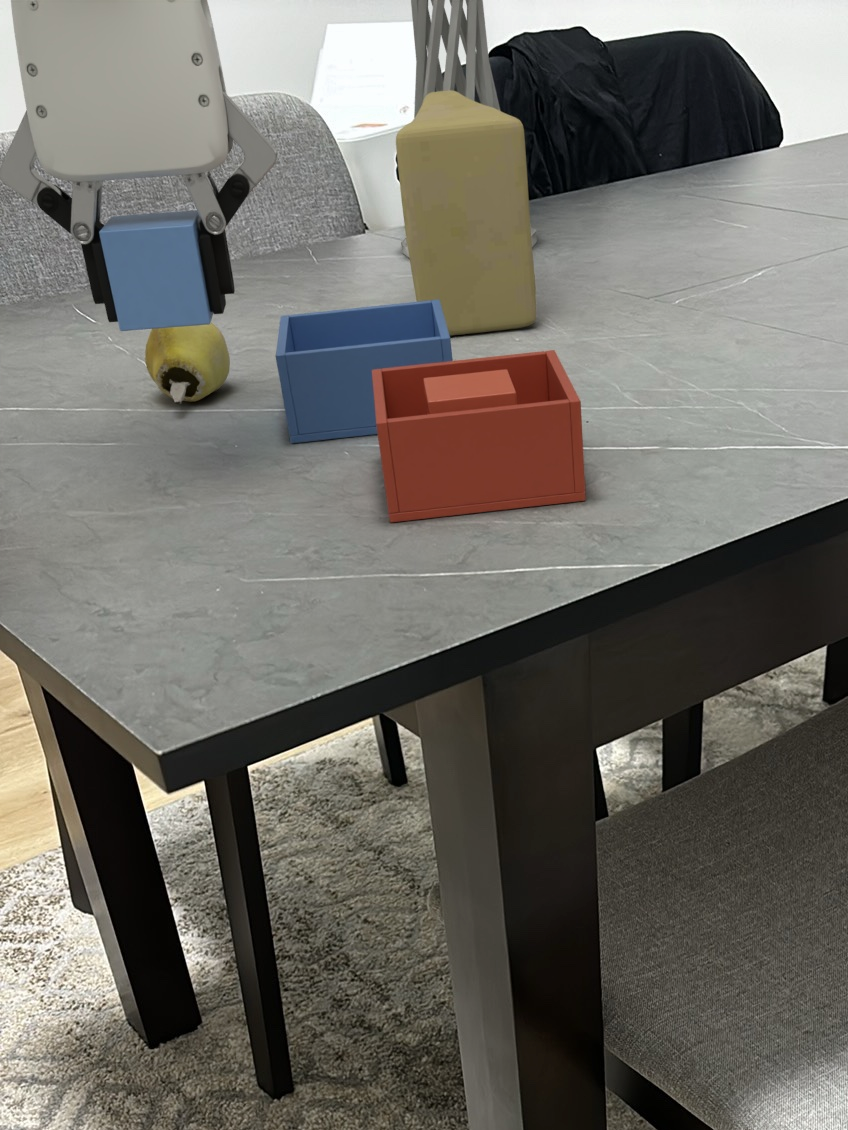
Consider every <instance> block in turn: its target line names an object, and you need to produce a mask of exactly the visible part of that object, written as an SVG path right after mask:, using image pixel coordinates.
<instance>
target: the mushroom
mask: <svg viewBox="0 0 848 1130" xmlns="http://www.w3.org/2000/svg"><path fill="white" fill-rule="evenodd" d="M230 357H231V356H230V353H229V350H228V345H227V341H226V339H225V337H224V335H223V333H222V331H221V329H220V328H219V327H218V326H217V325H216V324H215V323H213V322H211V323H210V324H208V325H195V326H182V327H169V328H156V329H150V333H149V335H148V338H147V341H146V344H145V351H144V361H145V366H146V369H147V373H148V374H149V376H150V378H151V380H152V381H153V382H154V383H155V384H156V386H157V387H158V389H159V390H160V391H161V392H162V393H163V394H164V395H166V396H167V397H169V398H171V399H172V400H173V401H174V403H175V405H181V404H182V402H183V401H185V402H190V403H192V402H197V401H200V400H202V399H204V398H205V397H207V396H209V395H210V394H211V393H214V392H216V391H218V390H219V389H220V388H221V387H222V386H223V384H224V383H225V381H226V380H227V378H228V377H229V373H230V367H231V358H230Z"/></svg>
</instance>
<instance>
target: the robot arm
mask: <svg viewBox="0 0 848 1130" xmlns="http://www.w3.org/2000/svg"><path fill="white" fill-rule="evenodd" d="M10 6H11V7H10V8H11V16H12V23H13V33H14V39H15V46H16V53H17V59H18V66H19V72H20V78H21V84H22V91H23V97H24V102H25V108H26V109H25V112H24V114H23V117H22V119H21V121H20V124H19V126H18V128H17V130H16V132H15V134H14V136H13V139H12V141H11V143H10V146H9V148H8V149H7V152H6V155H5V157H4V159H3V160H2V163H1V165H0V181H1V182H2V183H3V184H4V185H5V186H7V187H8V188H10V189H11V190H12V191H14V192H16V193H17V194H18V195H21V196H22V197H23V198H25V199H26V200H27V201H29V202H31V203H33V204H34V205H36V206H37V207H38V208H39V209H40V210H41V211H42V212H43V213H44V214H46V215H47V216H48V217H50V219H52V220H53V221H54V222H56V223H57V224H58V225H59V226H60V227H62V228H63V229H64V230H65V231H66V232H68V233H69V234H70V235H71V237H72V238H73V240H74V241H75V242H76V243H78V244H80V246H81V250H82V251H81V252H82V255H83V260H84V264H85V270H86V273H87V277H88V282H89V287H90V291H91V296H92V299H93V302H94V304H95V305H101V304H104V308H105V313H106V318H107V320H108V323H118V319H117V314H116V309H115V305H114V300H113V295H112V291H111V286H110V281H109V277H108V272H107V267H106V263H105V258H104V253H103V249H102V244H101V239H100V234H99V232H100V230H101V229H102V228H103V226H104V225H105V224H103V222H102V203H103V185H104V181H115V180H116V181H117V180H132V179H142V178H143V179H145V178H160V177H171V176H174V177H175V176H182V179H183V182H184V184H185V186H186V188H187V191H188V193H189V195H190V197H191V200H192V202H193V204H194V206H195V209H196V210H197V211H198V213H199V215H200V218H201V220H200V222H199V226H200V231H201V232H200V235H199V237H198V245H199V250H200V256H201V262H202V267H203V273H204V279H205V285H206V290H207V296H208V302H209V307H210V312H213V315H222V314H224V312H225V308H226V306H227V300H226V295H234V294H235V282H234V274H233V269H232V263H231V262H232V261H231V256H230V251H229V245H228V238H227V231H226V228H227V226H228V225H229V224H230V222H231V221H232V220H233V218H234V216H235V215H236V213H237V212H238V210H239V209H240V207H241V206H242V205H243V203H244V202H245V200H246V199H247V198H248V196H249V194H250V193H251V192H252V191H253V190H254V189H255V188H256V187H257V185H259V183H260V182H261V181H262V180H263V178H265V177H266V175H267V174H268V173H269V172H270V171H271V170H272V169H273V167H274V166H275V165H276V163H277V161H278V152H277V149H276V147H275V146H274V145H273V144H272V143H271V142H270V141H269V140H268V138H267V137H266V136H265V135H264V134H263V133H262V132H261V131H260V130H259V128H258V127H257V126H256V125H255V124H254V123H253V122H252V121H251V119H249V117H248V116H247V115H246V113H244V112H243V111H242V109H241V108H240V107H239V106H238V105H237V104H236V102H234V100H232V98H231V97H230V96H229V95H228V93H227V89H226V82H225V77H224V72H223V67H222V62H221V57H220V52H219V47H218V43H217V38H216V34H215V28H214V23H213V18H212V14H211V10H210V6H209V2H208V0H10ZM234 142H235V143H236V144H237V146H239V148H240V149H241V150H242V153H243V157H244V158H243V161H242V162H241V163H240V164H239V165H238V166H237V168H236V169H235V170H234V171H232V173H231V174H230V176H228V178H227V180H226V181H225V182H224V183H223V186H222V187H221V188H220V189H219V187H218V184H217V182H216V180H215V177H214V175H213V172H212V171H213V170H215V169H217V168H218V167H220V166H221V165H223V164H224V163H225V162H226V161H227V158H228V155H229V153H230V152H231V151H232V150H233V147H234ZM36 159H38V162H39V164H40V166H41V168H42V170H43V171H44V172H45V173H46V174H48V175H49V176H51V177H53V178H55V179H58V180H60V181H66V182H72V187H71V189H72V190H71V196H70V195H69V194H68V193H66V191H64V190H63V189H62V188H61V187H59V186H58V185H56V184H53V183H52V182H51V181H49V180H47V179H46V178H45V177H44V176H42V175H41V174H39V172H38V171H37V169H36V168H35V167H36V166H35V163H36Z"/></svg>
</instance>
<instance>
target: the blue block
mask: <svg viewBox="0 0 848 1130" xmlns="http://www.w3.org/2000/svg"><path fill="white" fill-rule="evenodd" d="M200 220H201V218H200V215H199V213H198V211H197V209H196V210H195V209H194V210H182V211H168V212H167V211H166V212H154V213H153V212H152V213H141V214H139V213H138V214H127V215H112V216H110V218H109V219H108V220H107V221H106V222H105V224H104V226H103V228H102V229H101V230H100V232H99V234H100V239H101V244H102V249H103V253H104V258H105V263H106V267H107V272H108V277H109V281H110V286H111V291H112V295H113V300H114V305H115V309H116V314H117V319H118V322H117V323H118V328H119V331H120V332H129V331H141V330H152V329H156V328H169V327H182V326H195V325H208V324H210V323H212V320H213V316H214V313H213V312H210V307H209V302H208V296H207V290H206V285H205V279H204V273H203V267H202V262H201V256H200V250H199V245H198V237H199V235H200V232H201V231H200V226H199V222H200Z"/></svg>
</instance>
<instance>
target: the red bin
mask: <svg viewBox="0 0 848 1130" xmlns="http://www.w3.org/2000/svg"><path fill="white" fill-rule="evenodd" d="M505 369H506V370H507V371H508V373H509V376H510V378H511V381H512V383H513V386H514V389H515V391H516V397H517V405H511V406H501V407H492V408H483V409H474V410H465V411H456V412H446V413H437V414H428V415H427V407H426V399H425V390H424V382H423V379H424V378H430V377H440V376H449V375H458V374H467V373H477V372H486V371H495V370H505ZM372 381H373V392H374V404H375V415H376V426H377V433H378V434H377V440H378V446H379V455H380V460H381V467H382V475H383V482H384V483H383V484H384V490H385V496H386V503H387V513H388V519H389V522H390V523H399V522H407V521H417V520H425V519H433V518H443V517H451V516H460V515H470V514H478V513H486V512H496V511H505V510H513V509H524V508H532V507H541V506H550V505H557V504H567V503H575V502H584V501H586V500H587V499H586V478H585V477H586V476H585V475H586V474H585V460H584V459H585V458H584V457H585V456H584V440H583V437H584V436H583V421H582V418H583V417H582V401H581V399H580V397H579V395H578V394H577V391H576V389H575V388H574V385H573V384H572V381H571V380H570V377H569V376H568V373H567V371H566V370H565V367H564V366H563V364H562V362H561V360H560V358H559V356H558V353H557V352H556V351H555V350H554V349H551V350H542V351H533V352H532V351H531V352H523V353H513V354H506V355H505V354H504V355H495V356H487V357H478V358H477V357H476V358H468V359H467V358H466V359H457V360H453V361H448V362H438V363H429V364H419V365H410V366H401V367H391V368H382V369H374V370H372Z"/></svg>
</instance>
